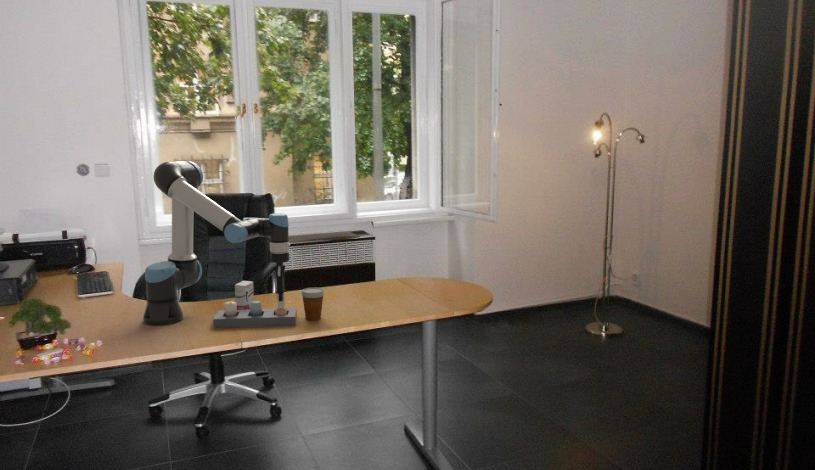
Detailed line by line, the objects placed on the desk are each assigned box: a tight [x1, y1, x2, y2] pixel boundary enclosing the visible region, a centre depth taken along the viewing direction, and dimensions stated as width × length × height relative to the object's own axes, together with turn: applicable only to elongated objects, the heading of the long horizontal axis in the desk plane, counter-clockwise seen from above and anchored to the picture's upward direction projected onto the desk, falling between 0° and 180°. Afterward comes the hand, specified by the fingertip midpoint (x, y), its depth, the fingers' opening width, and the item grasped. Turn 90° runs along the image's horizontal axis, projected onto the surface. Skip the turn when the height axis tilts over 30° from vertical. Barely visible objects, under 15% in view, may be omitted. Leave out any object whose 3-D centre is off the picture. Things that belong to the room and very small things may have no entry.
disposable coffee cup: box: [301, 287, 325, 321], centre depth 248 cm, size 10×10×12 cm
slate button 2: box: [249, 300, 263, 316], centre depth 242 cm, size 5×5×5 cm
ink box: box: [234, 280, 255, 310], centre depth 259 cm, size 9×5×12 cm, turn 168°
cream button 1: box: [224, 301, 237, 317], centre depth 240 cm, size 5×5×5 cm
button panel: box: [212, 307, 298, 329], centre depth 242 cm, size 32×12×4 cm, turn 98°
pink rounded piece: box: [274, 307, 287, 315], centre depth 243 cm, size 5×5×5 cm
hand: (281, 308), depth 243 cm, fingers closed
